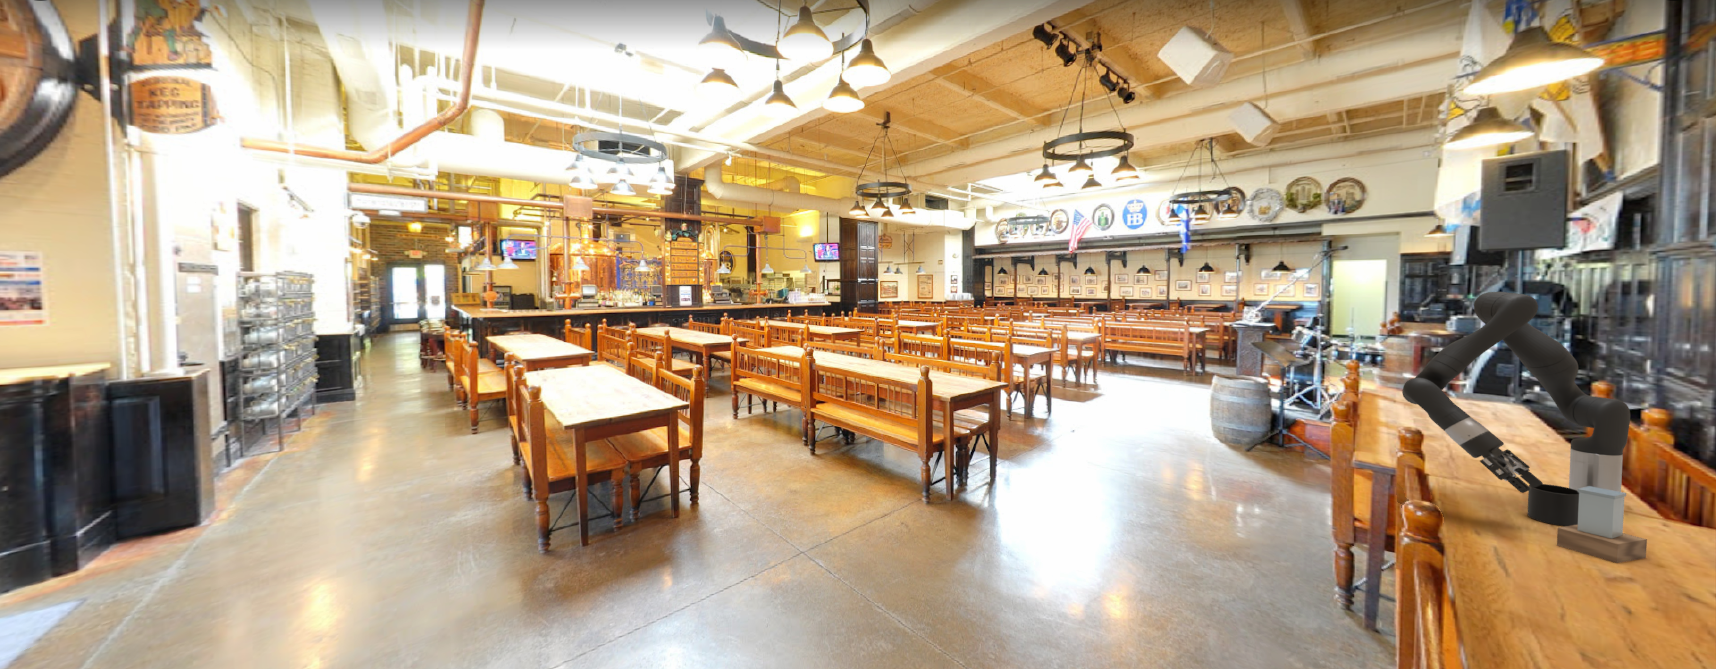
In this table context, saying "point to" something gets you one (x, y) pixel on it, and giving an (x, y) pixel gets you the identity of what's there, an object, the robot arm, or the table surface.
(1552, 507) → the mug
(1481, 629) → the table surface
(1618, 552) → the walnut block
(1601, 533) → the grey lidded pillar
